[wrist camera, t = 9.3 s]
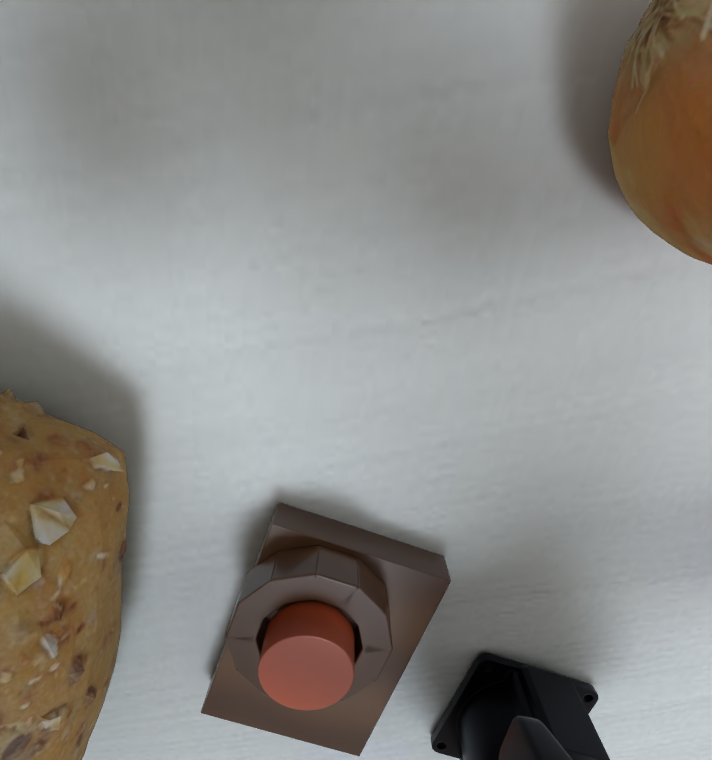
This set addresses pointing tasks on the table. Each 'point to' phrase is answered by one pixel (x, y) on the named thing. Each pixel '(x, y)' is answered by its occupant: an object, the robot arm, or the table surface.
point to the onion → (667, 124)
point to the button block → (347, 594)
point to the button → (307, 656)
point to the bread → (57, 580)
